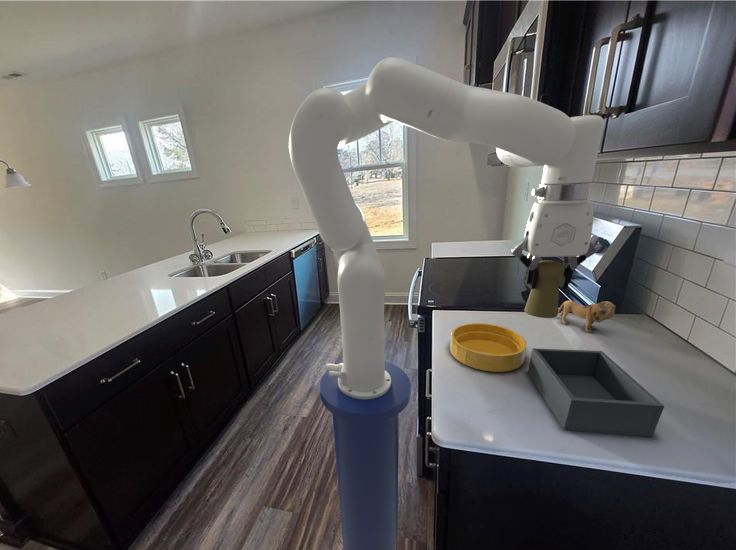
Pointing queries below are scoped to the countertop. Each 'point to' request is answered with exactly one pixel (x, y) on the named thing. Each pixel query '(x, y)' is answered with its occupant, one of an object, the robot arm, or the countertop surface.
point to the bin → (593, 393)
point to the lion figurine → (588, 312)
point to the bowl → (488, 347)
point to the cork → (545, 290)
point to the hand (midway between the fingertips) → (545, 286)
